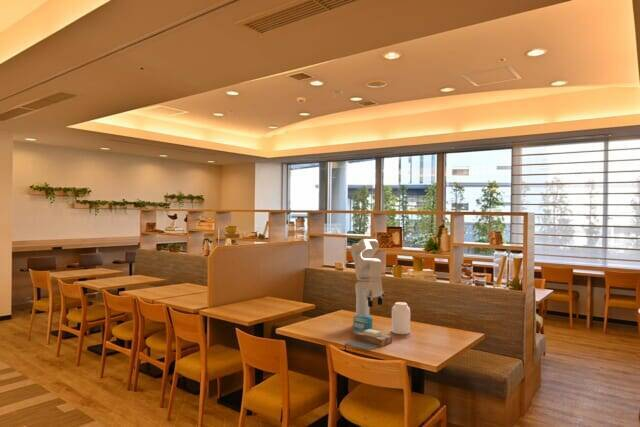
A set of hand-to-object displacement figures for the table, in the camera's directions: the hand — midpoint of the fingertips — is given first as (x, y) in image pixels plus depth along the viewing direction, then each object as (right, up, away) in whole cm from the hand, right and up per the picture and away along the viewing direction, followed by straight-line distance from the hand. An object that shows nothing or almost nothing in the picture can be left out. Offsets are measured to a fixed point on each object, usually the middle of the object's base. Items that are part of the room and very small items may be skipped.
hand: (375, 305), depth 280 cm
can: (+20, -22, +17) cm, 34 cm away
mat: (-10, -21, -14) cm, 27 cm away
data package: (-7, -21, +11) cm, 25 cm away
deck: (-2, -21, -5) cm, 22 cm away
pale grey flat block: (-2, -17, -6) cm, 18 cm away
